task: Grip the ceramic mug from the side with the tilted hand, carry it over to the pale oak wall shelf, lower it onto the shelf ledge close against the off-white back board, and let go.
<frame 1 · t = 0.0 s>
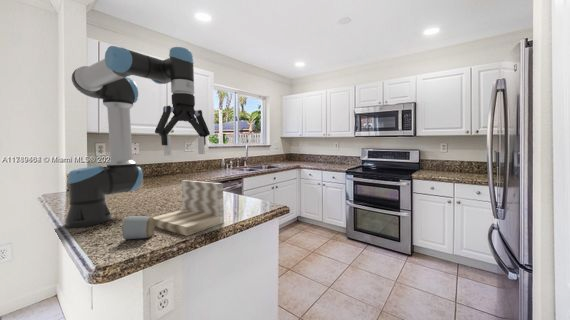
hand: (185, 154, 86), 28 cm above the countertop, tool pointing down, fingers open, 13 cm apart
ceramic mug: (140, 237, 84), on the countertop
wall shelf: (185, 224, 97), on the countertop
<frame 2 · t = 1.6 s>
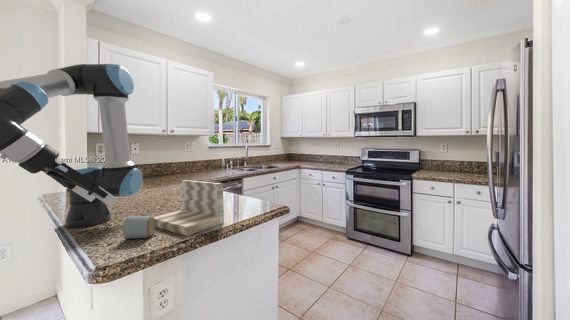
hand: (103, 200, 75), 15 cm above the countertop, tool tilted 45°, fingers open, 13 cm apart
nothing on the countertop moved.
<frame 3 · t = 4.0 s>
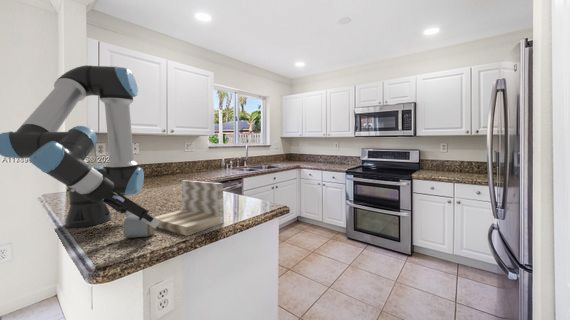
hand: (149, 222, 87), 4 cm above the countertop, tool tilted 45°, fingers closed on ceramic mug, 10 cm apart
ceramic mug: (141, 235, 85), on the countertop, touching gripper
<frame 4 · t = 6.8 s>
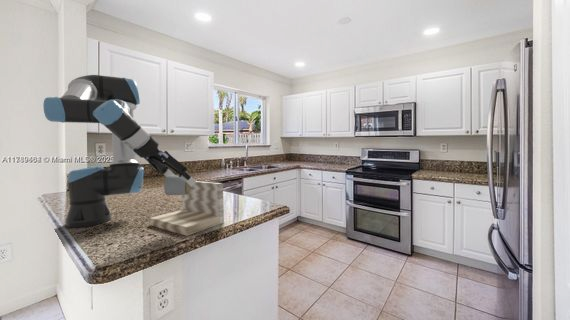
hand: (185, 182, 96), 17 cm above the countertop, tool tilted 45°, fingers closed on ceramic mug, 10 cm apart
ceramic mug: (178, 194, 95), point 12 cm above the countertop, touching gripper
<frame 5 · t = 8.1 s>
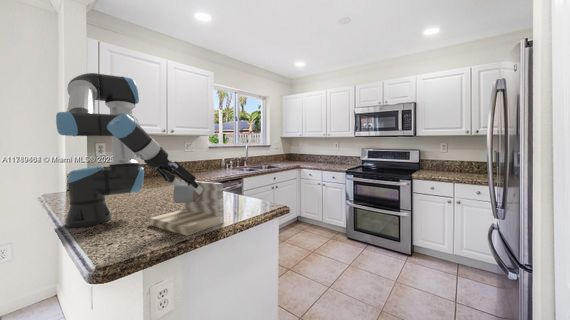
hand: (192, 190, 99), 13 cm above the countertop, tool tilted 45°, fingers closed on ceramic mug, 10 cm apart
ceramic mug: (186, 202, 98), point 9 cm above the countertop, touching gripper
when the fingers open (8 cm above the countertop, at t = 9.6 s): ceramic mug drops 1 cm, resting on wall shelf.
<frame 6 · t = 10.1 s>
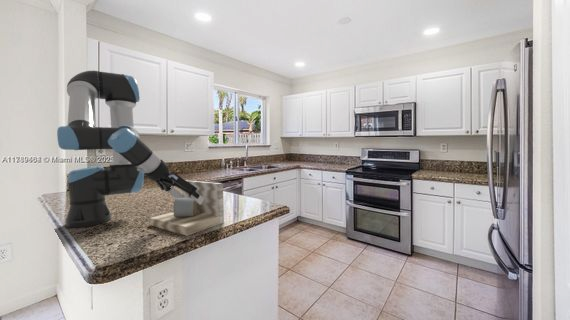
hand: (191, 200, 99), 9 cm above the countertop, tool tilted 45°, fingers open, 13 cm apart
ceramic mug: (186, 216, 99), point 3 cm above the countertop, touching wall shelf
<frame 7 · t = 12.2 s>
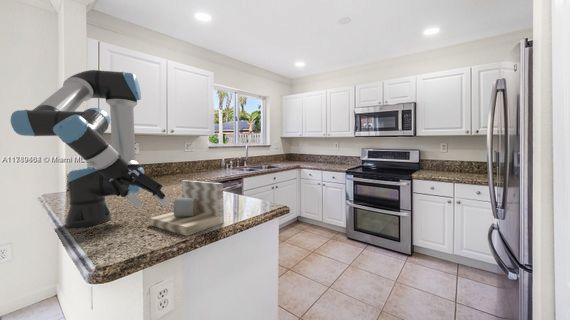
hand: (153, 204, 87), 10 cm above the countertop, tool tilted 40°, fingers open, 13 cm apart
nothing on the countertop moved.
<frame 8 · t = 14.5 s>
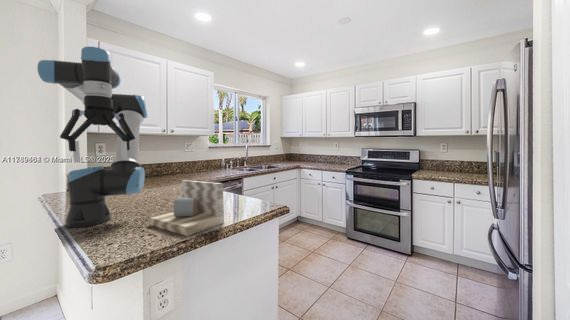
hand: (102, 160, 81), 27 cm above the countertop, tool pointing down, fingers open, 13 cm apart
nothing on the countertop moved.
at the end: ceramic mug inside the target area on the wall shelf (2.0 cm from its centre), point 2.8 cm above the wall shelf's base; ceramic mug tilted 0°; the gripper is holding nothing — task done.
